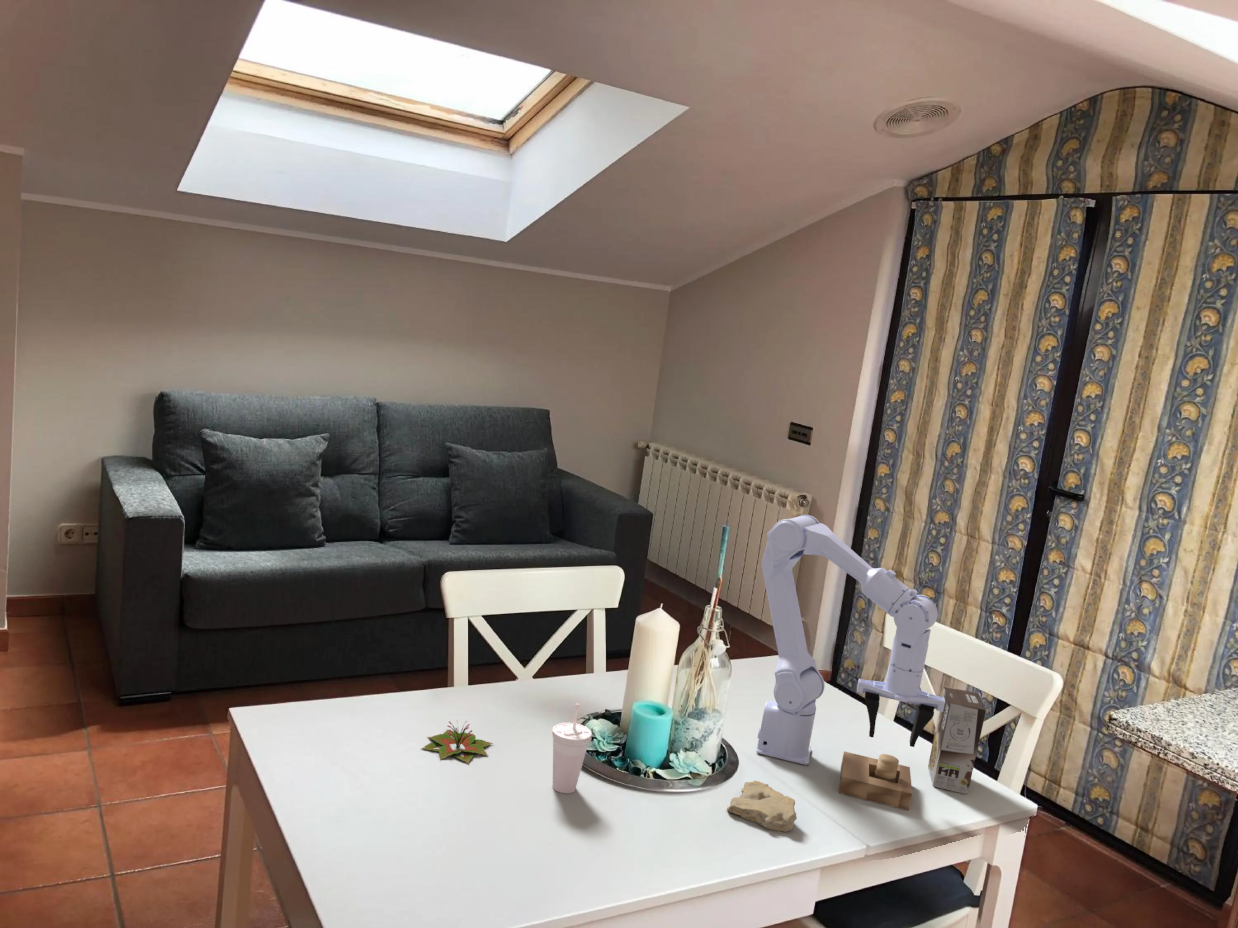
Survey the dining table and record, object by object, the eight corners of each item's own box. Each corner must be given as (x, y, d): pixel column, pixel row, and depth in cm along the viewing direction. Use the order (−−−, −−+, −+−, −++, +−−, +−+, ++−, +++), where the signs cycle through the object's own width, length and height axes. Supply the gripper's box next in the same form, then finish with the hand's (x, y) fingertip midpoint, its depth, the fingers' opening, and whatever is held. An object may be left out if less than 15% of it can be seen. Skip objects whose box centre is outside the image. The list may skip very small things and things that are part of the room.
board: (839, 792, 168) (842, 776, 168) (840, 766, 179) (843, 751, 178) (908, 810, 166) (912, 793, 165) (906, 782, 176) (909, 766, 176)
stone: (709, 788, 161) (761, 774, 165) (710, 809, 162) (762, 794, 165) (749, 823, 149) (805, 806, 153) (751, 844, 150) (806, 827, 153)
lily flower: (471, 773, 157) (475, 747, 157) (407, 752, 161) (410, 726, 160) (504, 746, 169) (508, 721, 168) (444, 727, 172) (447, 702, 172)
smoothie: (590, 786, 158) (603, 704, 156) (572, 801, 152) (584, 717, 150) (556, 773, 161) (567, 693, 158) (536, 788, 155) (548, 705, 153)
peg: (871, 791, 171) (877, 759, 170) (872, 783, 174) (879, 751, 173) (892, 797, 170) (898, 765, 169) (893, 789, 173) (899, 757, 172)
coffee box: (969, 795, 175) (987, 710, 172) (932, 786, 176) (949, 702, 174) (962, 773, 184) (979, 692, 181) (926, 765, 185) (943, 684, 182)
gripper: (863, 663, 166) (848, 738, 168) (951, 683, 163) (935, 758, 165) (863, 651, 173) (849, 723, 175) (948, 669, 170) (933, 742, 172)
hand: (891, 739), depth 171 cm, fingers open, 6 cm apart
